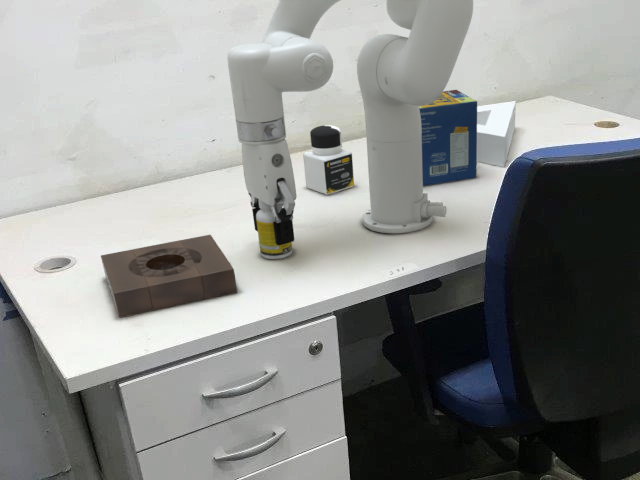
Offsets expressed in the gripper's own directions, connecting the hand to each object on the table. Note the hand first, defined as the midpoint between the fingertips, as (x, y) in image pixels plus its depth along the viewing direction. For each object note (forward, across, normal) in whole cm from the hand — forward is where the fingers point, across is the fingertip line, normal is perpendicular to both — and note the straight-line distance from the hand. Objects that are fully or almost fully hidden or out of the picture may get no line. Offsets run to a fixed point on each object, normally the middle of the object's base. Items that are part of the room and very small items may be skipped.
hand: (274, 235), depth 141 cm
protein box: (+3, +16, -44) cm, 47 cm away
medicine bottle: (+3, +24, -24) cm, 34 cm away
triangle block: (+3, +29, -67) cm, 73 cm away
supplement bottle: (+3, 0, 0) cm, 3 cm away
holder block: (+3, 0, +19) cm, 20 cm away
